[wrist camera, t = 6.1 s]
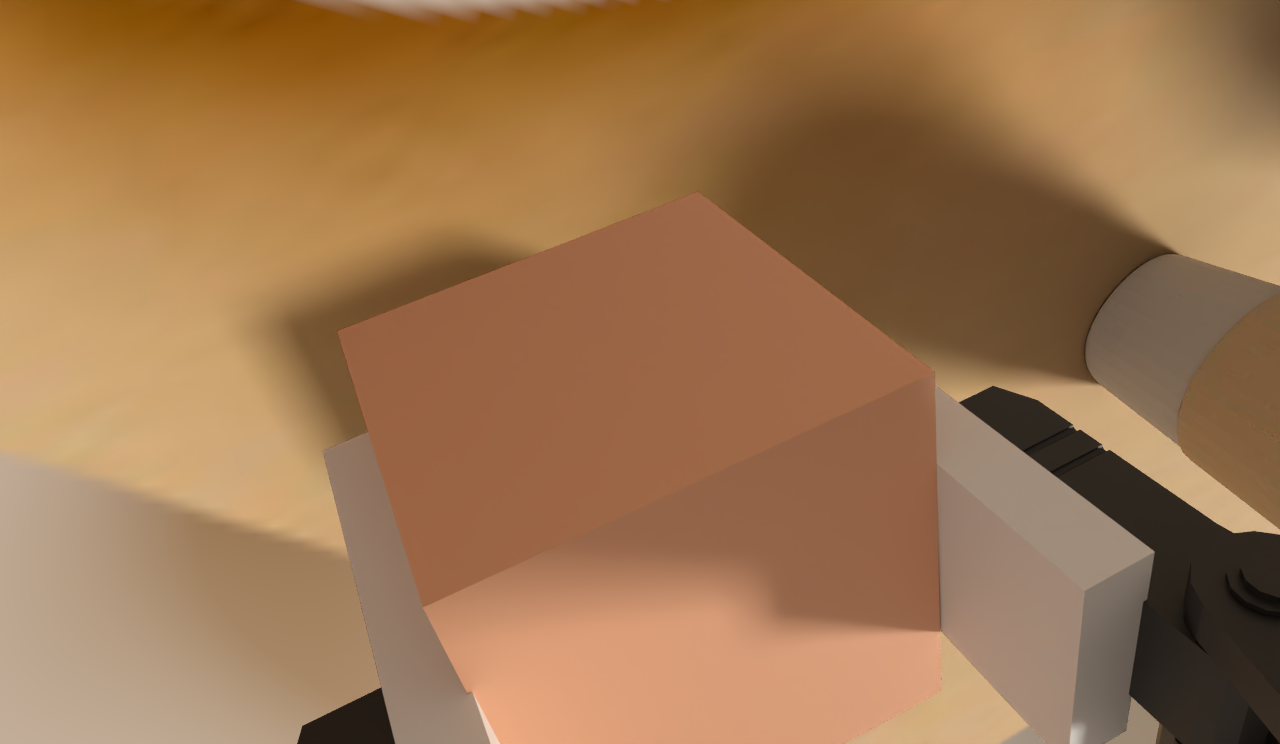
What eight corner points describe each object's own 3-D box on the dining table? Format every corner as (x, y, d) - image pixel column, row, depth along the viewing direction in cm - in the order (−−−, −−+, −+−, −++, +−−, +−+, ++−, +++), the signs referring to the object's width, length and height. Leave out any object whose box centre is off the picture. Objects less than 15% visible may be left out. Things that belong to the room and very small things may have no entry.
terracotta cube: (698, 191, 13) (935, 372, 9) (746, 464, 16) (941, 691, 12) (336, 331, 12) (422, 606, 8) (462, 595, 15) (571, 892, 11)
